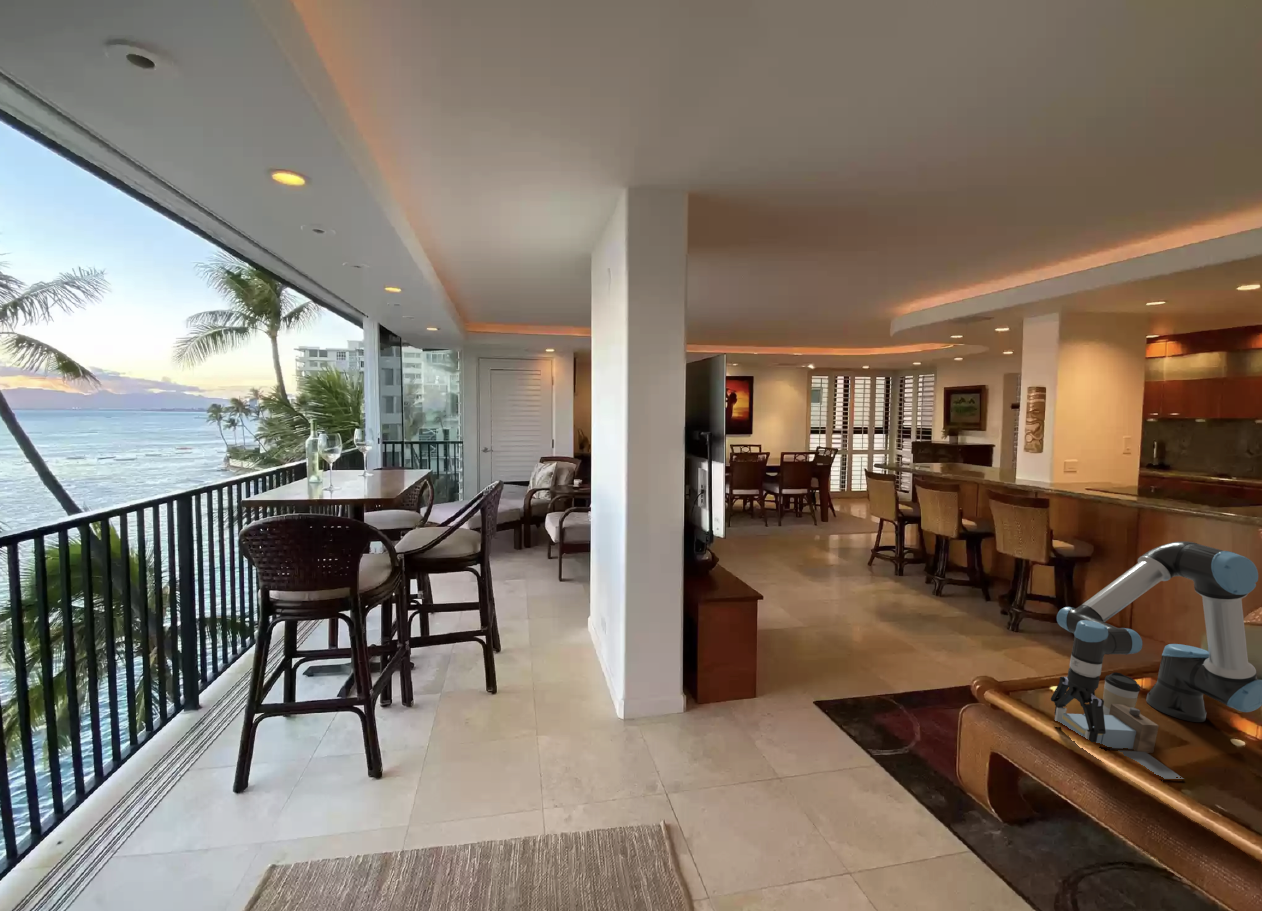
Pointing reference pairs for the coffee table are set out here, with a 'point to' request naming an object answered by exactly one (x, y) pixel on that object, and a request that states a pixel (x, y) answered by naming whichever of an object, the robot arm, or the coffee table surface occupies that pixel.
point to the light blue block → (1078, 724)
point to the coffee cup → (1119, 691)
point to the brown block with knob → (1137, 726)
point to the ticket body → (1117, 733)
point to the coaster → (1151, 764)
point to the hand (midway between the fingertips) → (1072, 738)
